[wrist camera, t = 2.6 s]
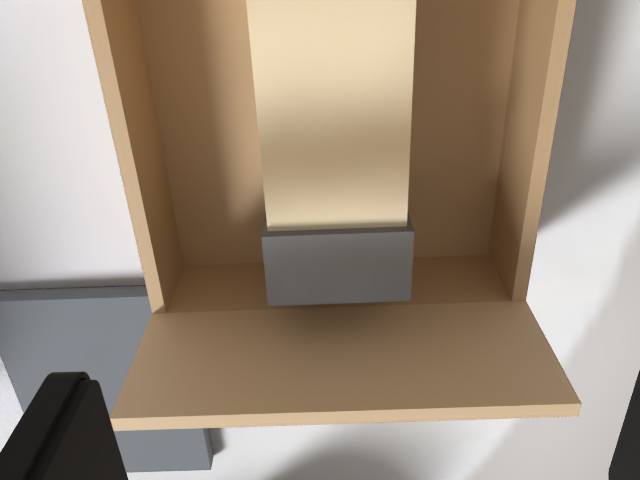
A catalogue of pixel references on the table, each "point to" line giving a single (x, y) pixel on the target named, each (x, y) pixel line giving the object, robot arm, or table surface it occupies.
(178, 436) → the slate mat
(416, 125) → the carton
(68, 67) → the table surface
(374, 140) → the block
